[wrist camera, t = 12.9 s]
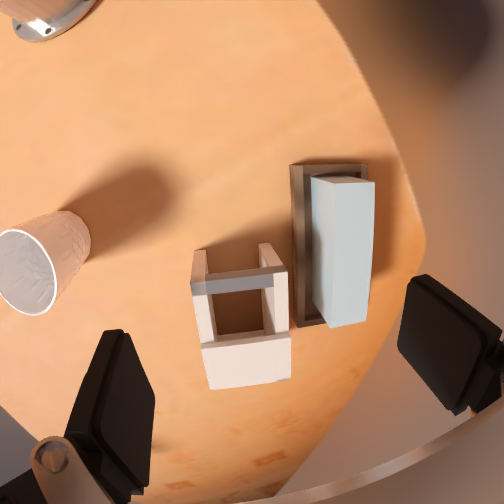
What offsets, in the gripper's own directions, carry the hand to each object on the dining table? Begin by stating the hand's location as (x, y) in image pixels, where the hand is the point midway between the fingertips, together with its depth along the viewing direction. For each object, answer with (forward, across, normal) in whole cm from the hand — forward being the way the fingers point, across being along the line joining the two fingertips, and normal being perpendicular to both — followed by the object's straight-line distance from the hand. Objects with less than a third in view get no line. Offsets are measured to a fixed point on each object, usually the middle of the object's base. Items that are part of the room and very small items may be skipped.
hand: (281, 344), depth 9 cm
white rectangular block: (+21, -10, +5) cm, 24 cm away
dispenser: (+22, 0, +11) cm, 25 cm away
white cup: (+23, +18, +1) cm, 29 cm away
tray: (+22, -10, +6) cm, 25 cm away
